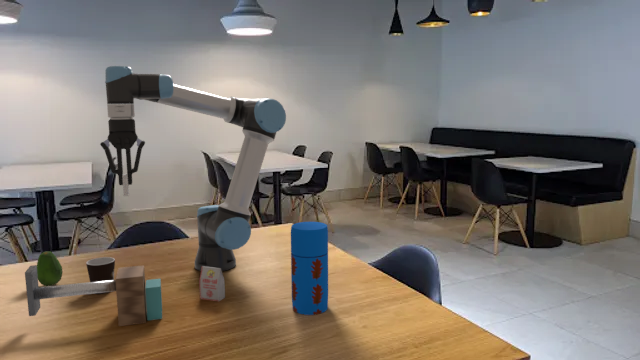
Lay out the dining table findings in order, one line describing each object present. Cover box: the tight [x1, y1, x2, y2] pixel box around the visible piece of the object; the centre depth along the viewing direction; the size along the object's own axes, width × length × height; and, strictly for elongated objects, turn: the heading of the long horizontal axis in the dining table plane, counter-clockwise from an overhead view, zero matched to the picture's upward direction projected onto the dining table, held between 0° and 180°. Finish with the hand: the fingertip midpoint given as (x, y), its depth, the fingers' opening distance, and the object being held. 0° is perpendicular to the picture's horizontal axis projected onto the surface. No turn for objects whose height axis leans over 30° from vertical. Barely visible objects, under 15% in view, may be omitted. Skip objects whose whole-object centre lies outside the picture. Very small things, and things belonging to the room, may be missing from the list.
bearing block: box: [115, 265, 147, 327], centre depth 144 cm, size 7×10×14 cm
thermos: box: [290, 221, 329, 316], centre depth 149 cm, size 11×11×25 cm
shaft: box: [24, 264, 116, 317], centre depth 140 cm, size 26×6×12 cm, turn 107°
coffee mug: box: [85, 256, 116, 295], centre depth 167 cm, size 12×9×10 cm
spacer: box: [145, 278, 163, 322], centre depth 146 cm, size 4×7×10 cm, turn 17°
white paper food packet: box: [198, 266, 226, 302], centre depth 159 cm, size 4×7×10 cm, turn 70°
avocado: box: [36, 250, 63, 287], centre depth 170 cm, size 8×8×12 cm
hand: (126, 195), depth 157 cm, fingers closed
